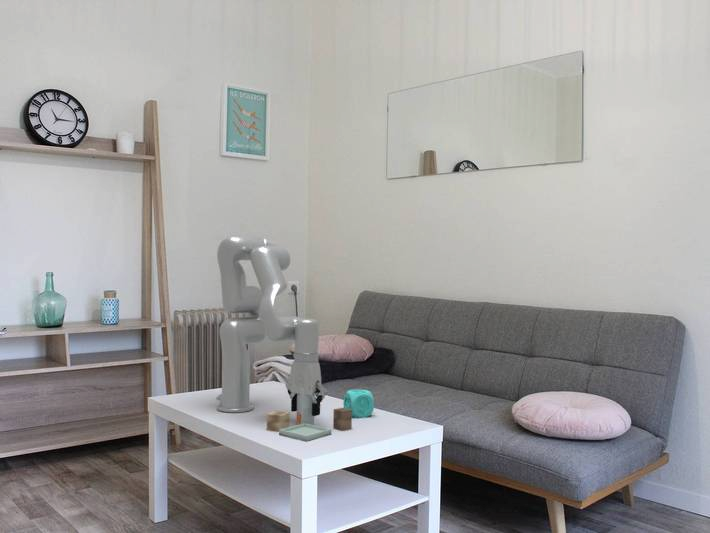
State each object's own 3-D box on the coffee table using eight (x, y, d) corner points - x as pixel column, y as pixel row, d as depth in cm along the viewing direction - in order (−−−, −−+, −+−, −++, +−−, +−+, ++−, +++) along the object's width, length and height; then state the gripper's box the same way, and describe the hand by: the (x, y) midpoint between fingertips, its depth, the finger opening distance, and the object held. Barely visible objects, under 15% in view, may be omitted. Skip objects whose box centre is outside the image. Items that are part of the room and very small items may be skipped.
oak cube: (266, 430, 204) (266, 414, 204) (275, 426, 209) (275, 410, 209) (280, 432, 202) (281, 415, 202) (289, 428, 207) (289, 412, 207)
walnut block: (333, 428, 208) (333, 409, 208) (343, 426, 211) (343, 407, 211) (341, 431, 205) (341, 411, 205) (351, 429, 208) (351, 409, 208)
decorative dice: (364, 412, 232) (364, 388, 232) (374, 417, 225) (374, 393, 225) (343, 413, 229) (343, 390, 229) (351, 418, 222) (352, 394, 222)
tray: (279, 434, 199) (279, 429, 199) (304, 428, 208) (304, 423, 208) (306, 441, 192) (306, 436, 192) (331, 434, 201) (331, 429, 201)
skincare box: (296, 422, 214) (296, 385, 214) (308, 422, 216) (309, 384, 216) (301, 427, 209) (301, 388, 209) (314, 426, 210) (315, 388, 210)
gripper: (278, 356, 215) (277, 411, 215) (318, 362, 204) (318, 419, 204) (294, 354, 220) (293, 407, 220) (334, 359, 210) (334, 415, 210)
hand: (305, 412), depth 212 cm, fingers open, 8 cm apart
